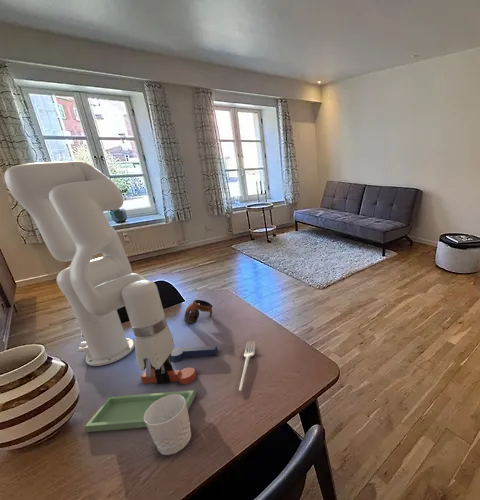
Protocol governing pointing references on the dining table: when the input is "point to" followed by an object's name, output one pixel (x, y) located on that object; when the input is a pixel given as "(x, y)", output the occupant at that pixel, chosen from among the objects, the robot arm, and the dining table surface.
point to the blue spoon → (193, 352)
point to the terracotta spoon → (174, 376)
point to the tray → (128, 411)
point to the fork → (247, 356)
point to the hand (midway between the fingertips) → (166, 378)
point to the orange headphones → (196, 310)
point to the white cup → (169, 423)
